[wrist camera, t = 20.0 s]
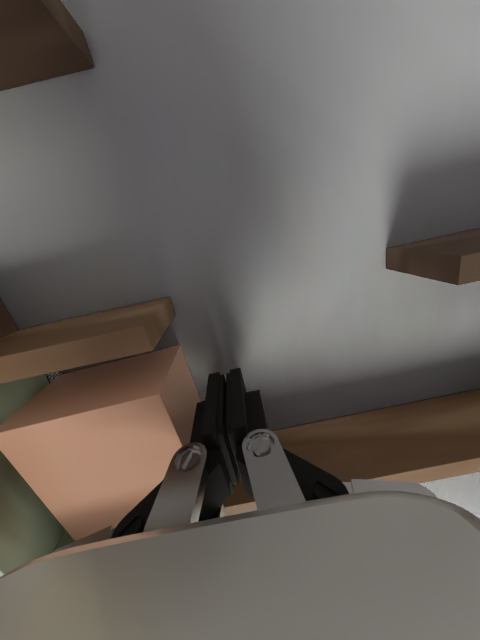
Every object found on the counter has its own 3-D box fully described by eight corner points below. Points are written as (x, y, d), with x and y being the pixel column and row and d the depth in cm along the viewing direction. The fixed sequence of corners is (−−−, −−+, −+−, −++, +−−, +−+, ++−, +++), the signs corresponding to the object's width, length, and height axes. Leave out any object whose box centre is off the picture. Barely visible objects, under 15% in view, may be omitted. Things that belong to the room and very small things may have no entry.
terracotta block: (215, 435, 16) (211, 510, 11) (114, 458, 16) (74, 540, 12) (181, 342, 13) (159, 394, 9) (62, 372, 14) (-12, 435, 9)
